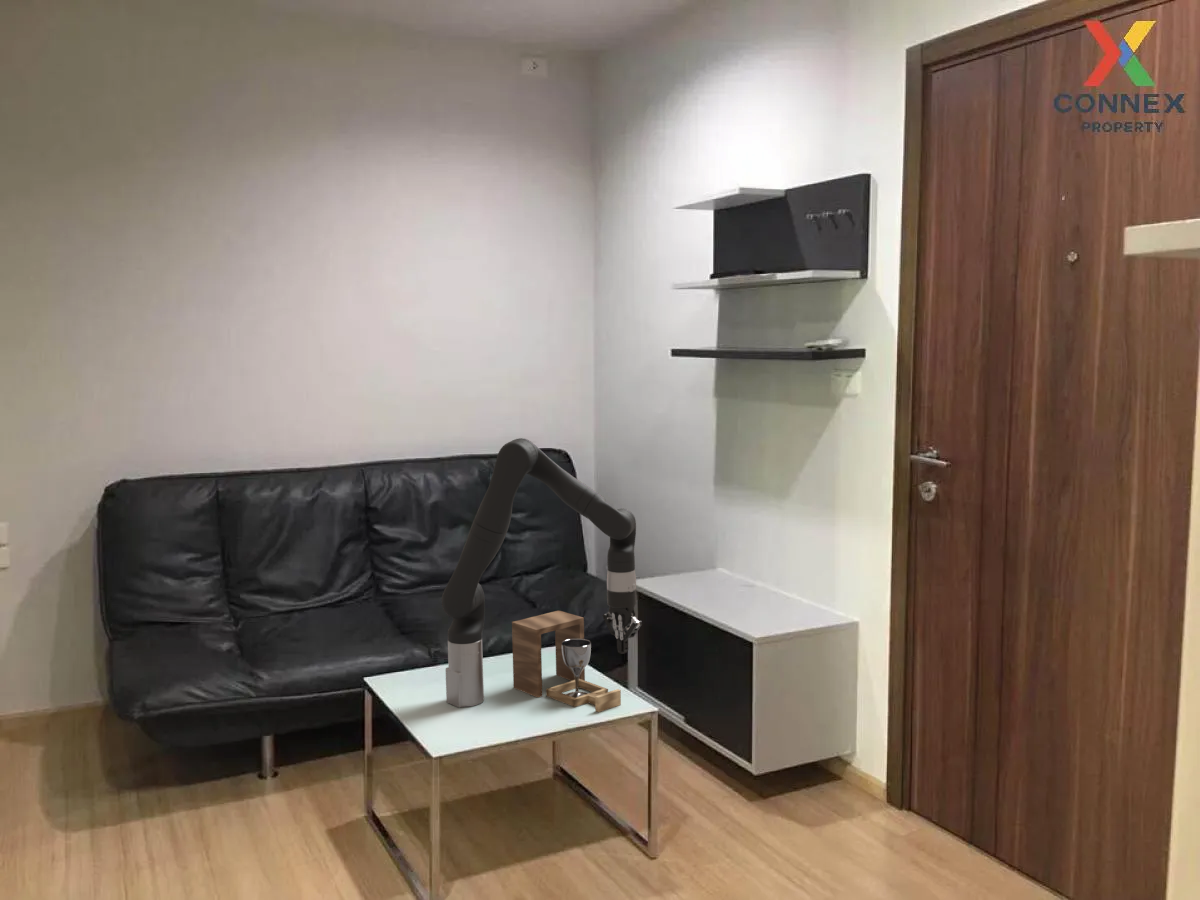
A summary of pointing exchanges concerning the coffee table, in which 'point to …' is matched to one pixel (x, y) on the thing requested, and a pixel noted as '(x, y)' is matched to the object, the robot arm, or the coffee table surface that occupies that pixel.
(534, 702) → the coffee table surface
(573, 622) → the wooden arch frame
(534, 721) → the coffee table surface
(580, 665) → the wine glass
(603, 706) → the drawer
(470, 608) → the robot arm
